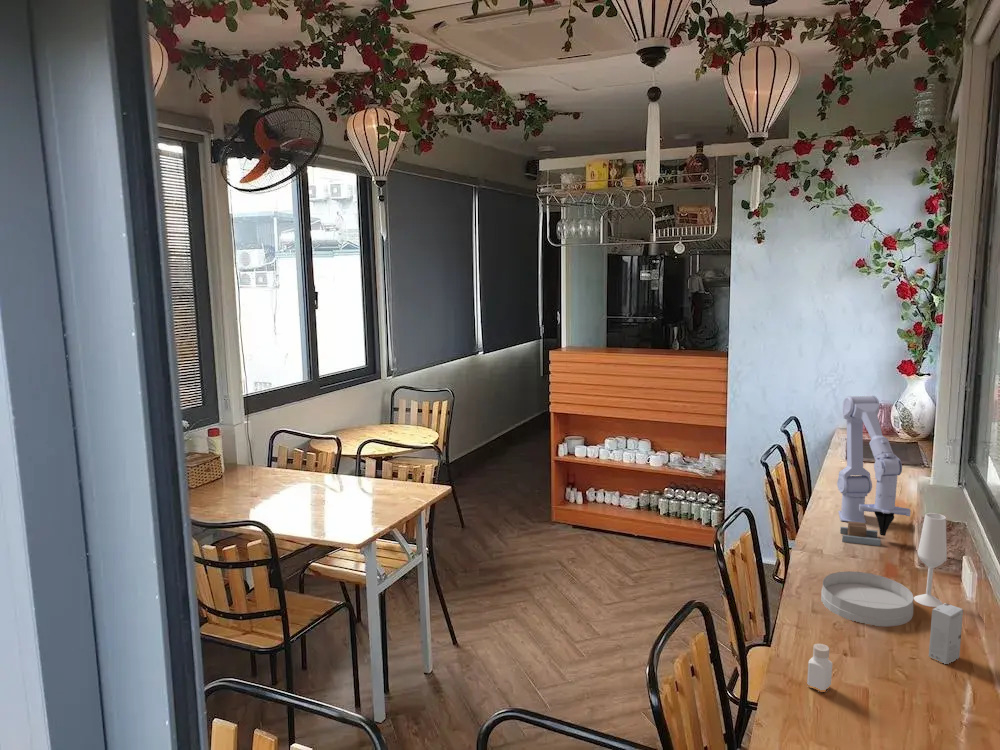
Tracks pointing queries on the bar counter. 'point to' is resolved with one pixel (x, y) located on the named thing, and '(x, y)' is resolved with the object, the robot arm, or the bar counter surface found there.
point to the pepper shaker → (820, 668)
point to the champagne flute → (932, 552)
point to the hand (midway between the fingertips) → (882, 534)
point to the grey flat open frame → (869, 539)
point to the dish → (867, 598)
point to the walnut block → (856, 529)
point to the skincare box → (945, 633)
